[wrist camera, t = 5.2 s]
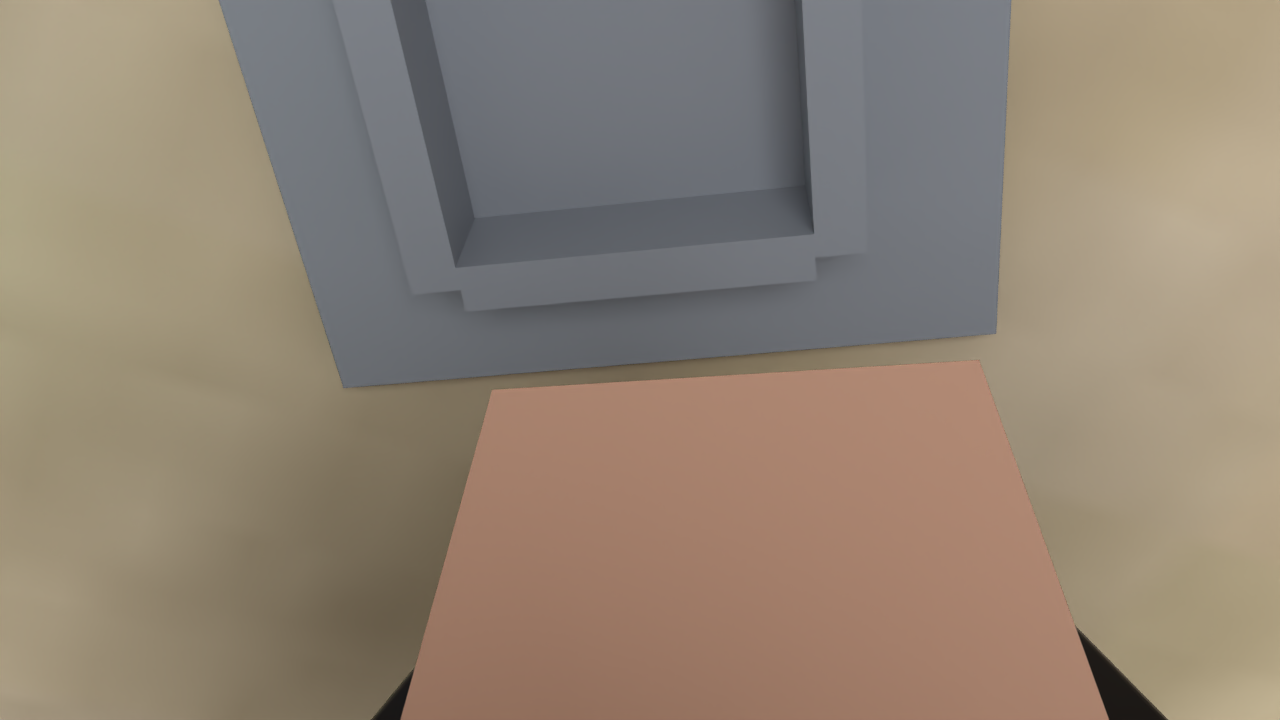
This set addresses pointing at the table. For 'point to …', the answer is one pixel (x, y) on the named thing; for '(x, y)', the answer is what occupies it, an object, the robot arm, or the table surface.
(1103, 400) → the table surface
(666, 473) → the peg block
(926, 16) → the socket plate
